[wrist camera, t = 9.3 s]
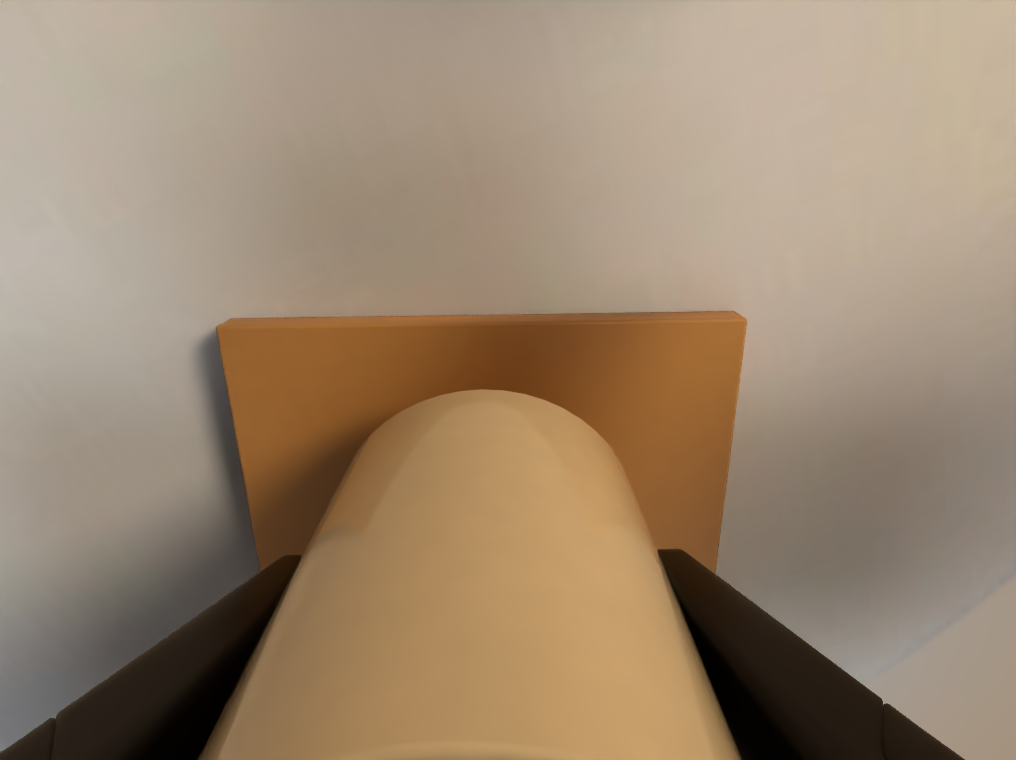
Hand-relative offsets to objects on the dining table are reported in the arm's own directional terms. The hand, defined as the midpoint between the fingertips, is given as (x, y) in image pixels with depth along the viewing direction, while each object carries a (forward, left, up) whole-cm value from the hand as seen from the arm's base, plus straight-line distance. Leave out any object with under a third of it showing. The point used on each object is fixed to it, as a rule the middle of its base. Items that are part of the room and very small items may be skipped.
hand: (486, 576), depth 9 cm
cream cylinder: (0, 0, -1) cm, 1 cm away
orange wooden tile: (0, 0, -3) cm, 3 cm away
